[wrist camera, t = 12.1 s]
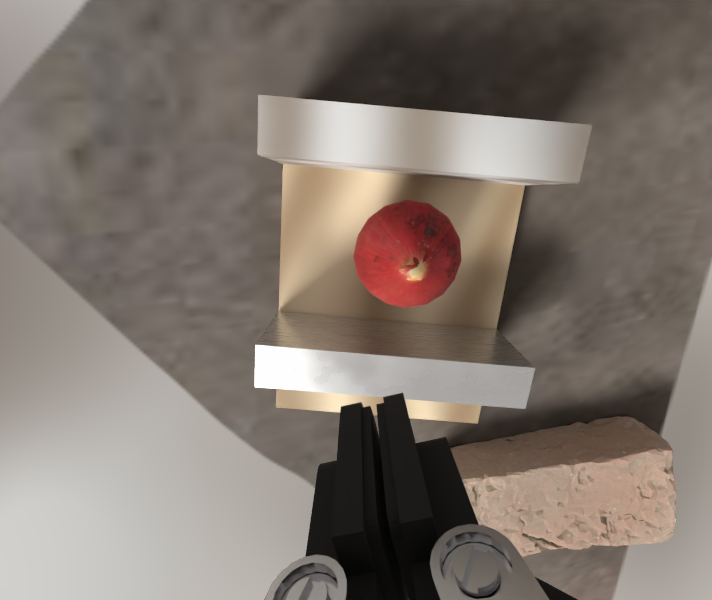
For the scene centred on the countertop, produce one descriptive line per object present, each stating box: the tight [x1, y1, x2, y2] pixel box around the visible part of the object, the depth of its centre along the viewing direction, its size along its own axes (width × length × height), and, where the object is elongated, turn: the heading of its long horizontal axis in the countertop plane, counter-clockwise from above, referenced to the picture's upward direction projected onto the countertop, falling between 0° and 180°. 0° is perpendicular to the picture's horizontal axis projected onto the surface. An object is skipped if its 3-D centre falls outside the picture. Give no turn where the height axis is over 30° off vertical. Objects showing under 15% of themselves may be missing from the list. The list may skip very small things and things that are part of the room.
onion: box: [353, 200, 462, 308], centre depth 21 cm, size 6×6×8 cm
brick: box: [450, 416, 677, 557], centre depth 29 cm, size 17×8×5 cm, turn 103°
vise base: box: [258, 95, 592, 424], centre depth 23 cm, size 15×20×8 cm
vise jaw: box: [255, 311, 535, 409], centre depth 24 cm, size 15×4×6 cm, turn 85°
